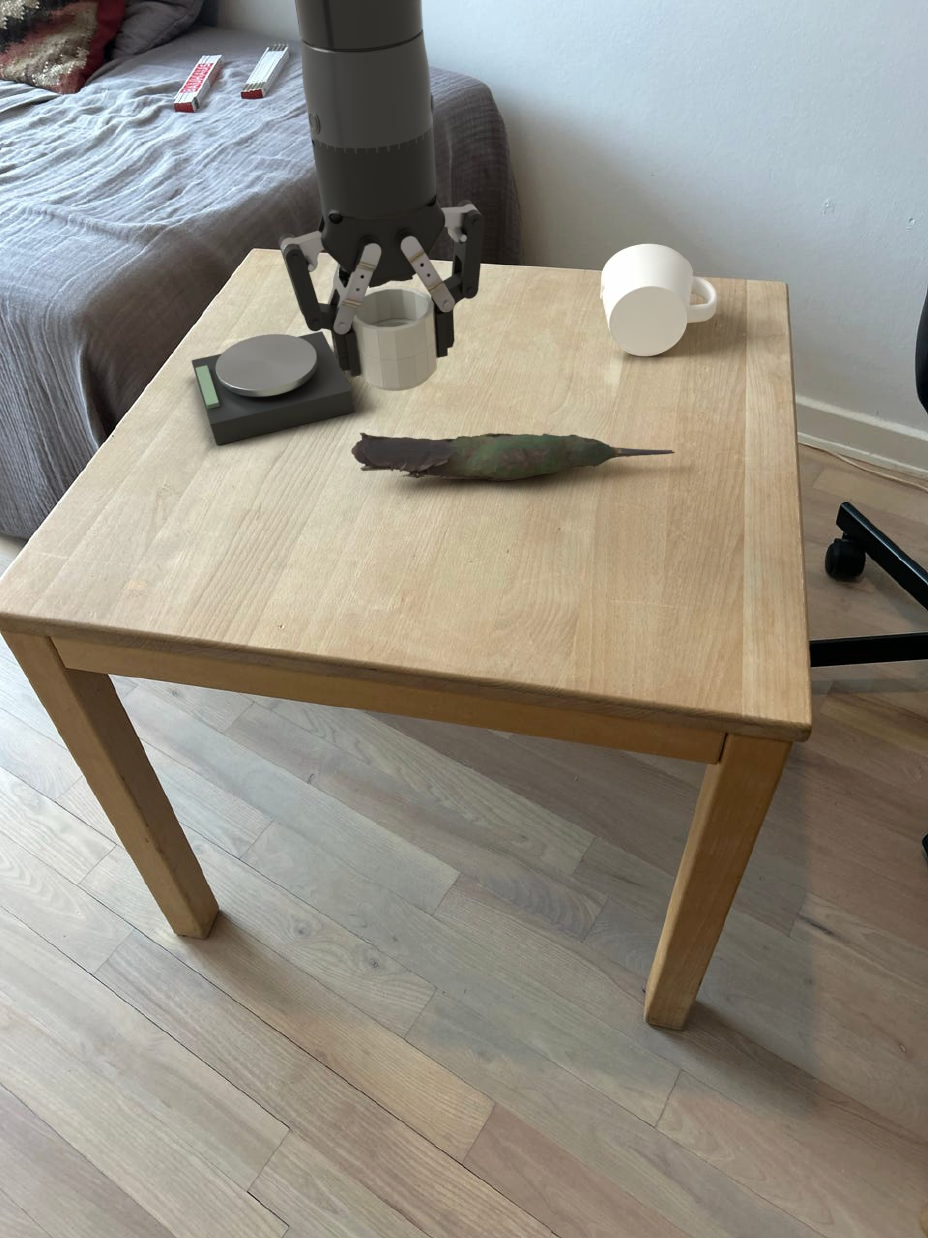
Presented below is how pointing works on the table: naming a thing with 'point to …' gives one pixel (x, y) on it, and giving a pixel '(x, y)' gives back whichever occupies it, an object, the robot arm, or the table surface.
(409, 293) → the white cup
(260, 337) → the pan
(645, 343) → the mug
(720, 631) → the table surface
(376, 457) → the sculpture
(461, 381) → the table surface
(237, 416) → the scale
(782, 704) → the table surface
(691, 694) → the table surface
